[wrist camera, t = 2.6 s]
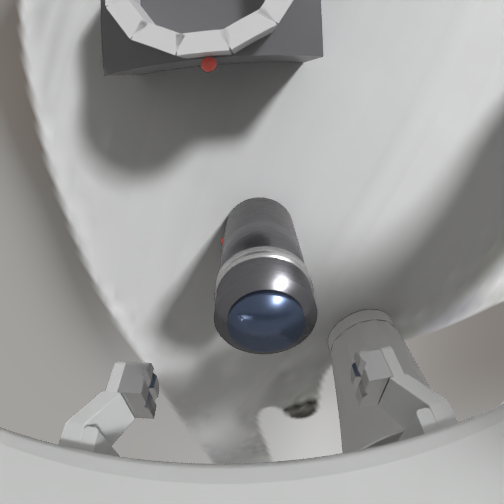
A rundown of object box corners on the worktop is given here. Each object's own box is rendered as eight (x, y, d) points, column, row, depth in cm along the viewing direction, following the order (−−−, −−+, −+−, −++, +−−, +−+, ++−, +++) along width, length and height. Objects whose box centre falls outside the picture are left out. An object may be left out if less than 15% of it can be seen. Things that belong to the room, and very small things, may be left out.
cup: (310, 318, 26) (338, 449, 16) (400, 290, 25) (461, 406, 15) (326, 372, 30) (348, 481, 20) (401, 349, 29) (442, 450, 18)
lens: (295, 195, 21) (325, 278, 13) (293, 258, 23) (315, 358, 15) (219, 198, 21) (201, 283, 13) (225, 261, 23) (215, 362, 15)
